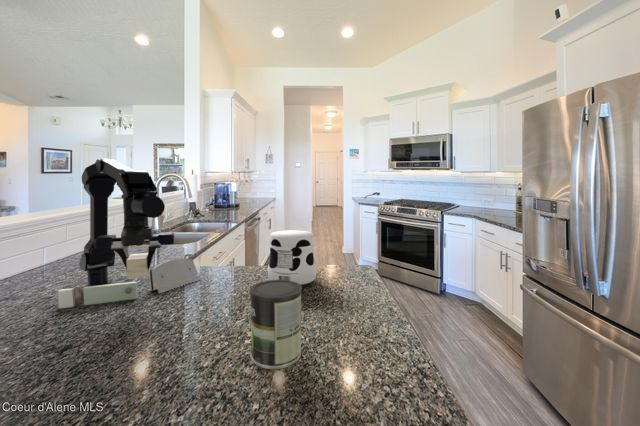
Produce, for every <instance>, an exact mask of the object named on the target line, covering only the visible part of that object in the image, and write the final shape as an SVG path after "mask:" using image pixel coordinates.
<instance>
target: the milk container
mask: <svg viewBox="0 0 640 426" xmlns="http://www.w3.org/2000/svg"><path fill="white" fill-rule="evenodd" d="M269 235H270V236H269V255H270V256H269V262H268V266H267V276H268V281H269V280H289V281H293V282H296V283H298V284H300V285H301V287H304V286H307V285H310V284H311V283H313V282H314V281H315V280H316V276H317V265H316V261H315V254H314V253H315V238H314V237H315V236H314V233H313V232H311V231H308V230H301V229H300V230H295V229H292V230H289V229H288V230H278V231H273V232H271V233H270V234H269Z"/></svg>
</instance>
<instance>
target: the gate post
mask: <svg viewBox="0 0 640 426" xmlns="http://www.w3.org/2000/svg"><path fill="white" fill-rule="evenodd" d="M73 288H74V297H75V306H74V307H82V306H83V305H84V293H83V286H82V285H75V286H74V287H73Z"/></svg>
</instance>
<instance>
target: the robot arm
mask: <svg viewBox="0 0 640 426" xmlns="http://www.w3.org/2000/svg"><path fill="white" fill-rule="evenodd" d="M81 182H82V185H83V190H84V191H85V192H86V193H87V195H88V196H89V199H90V200H89V205H90V207H89V211H90V212H89V213H90V214H89V215H90V216H89V218H90V219H89V221H90V222H89V225H90V227H89V230H90V231H89V239H88V241H87V242H86V243H85V245H84V247H83V253H82V255H81V258H80V260H79V269H80V270H81V271H83V272H86V273H87V274H86V276H87V277H86V278H87V284H86V285H85V286H84V287H89V286H98V285H108V284H111V283H112V279H109V270H108V269H109V268H110V267H114V266H115V261H116V254H118V256H119V258H120V259H121V261H122V263H123V265H124V267H125V270H127V263H126V260H127V258H128V257H129V256H130V255H129V248H128V247H131V246H137V247H141V246H143V245H144V244H145V243H146V244H147V243H149V245H148V246H147V249H148V251H147V253H148V261H147V267H148V269H149V270H150V269H151V264H152V261H153V259H154V255H155V252H156V250H157V249H160V248H161V247H162V246H164V245H165V246H166V245H174V244H175V240H176V238H175V235H176V234H175V233H174V232H172V231H169V232H168V231H165V232H163V231H161V232H159V233H158V234H157V235H153V227H152V226H150V225H149V219H150V218H152V219H154V218H155V219H156V218H158V217H160V216H162V214H163V213H164V212H165V208H166V207H165V206H166V205H165V203H164V201H163V200H162V198H160V197H159V196H158V188H157V186H156V184H155V183H154V181H153V178H152V176H151V174H150V173H149V171H147V170H143V169H133V168H131V167H128V166H126V165H124V164H123V163H120V162H119V161H118V160H116V159H115V158H114V159H111V158H110V159H109V158H97V159H96V161H95V162H94V163H93V164H90V165H88V166H86V167H85V168H84V170H83V172H82V174H81ZM115 185H116V186H117V187H118V188H119V190H120V191H121V192H122V195H121V197H120V198H121V199H123V200H122V201H123V204H122V205H123V228H122V231H121V234H120V237H119V236H118V237H117V235H116V234H109V233H108V226H109V225H108V224H109V223H108V218H109V217H108V216H109V215H108V214H109V213H108V212H109V210H108V209H109V198H110V196H112V194H113V192H114V190H115ZM108 267H109V268H108Z"/></svg>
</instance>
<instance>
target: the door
mask: <svg viewBox="0 0 640 426" xmlns="http://www.w3.org/2000/svg"><path fill="white" fill-rule="evenodd" d="M82 294H83V305H84V306H89V305H90V306H91V305H98V304H106V303H113V302H122V301H129V300H136V299H138V283H137V280H136V281H129V282H118V283H110V284H108V285H98V286H89V287H85V286H84V287H82Z"/></svg>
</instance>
